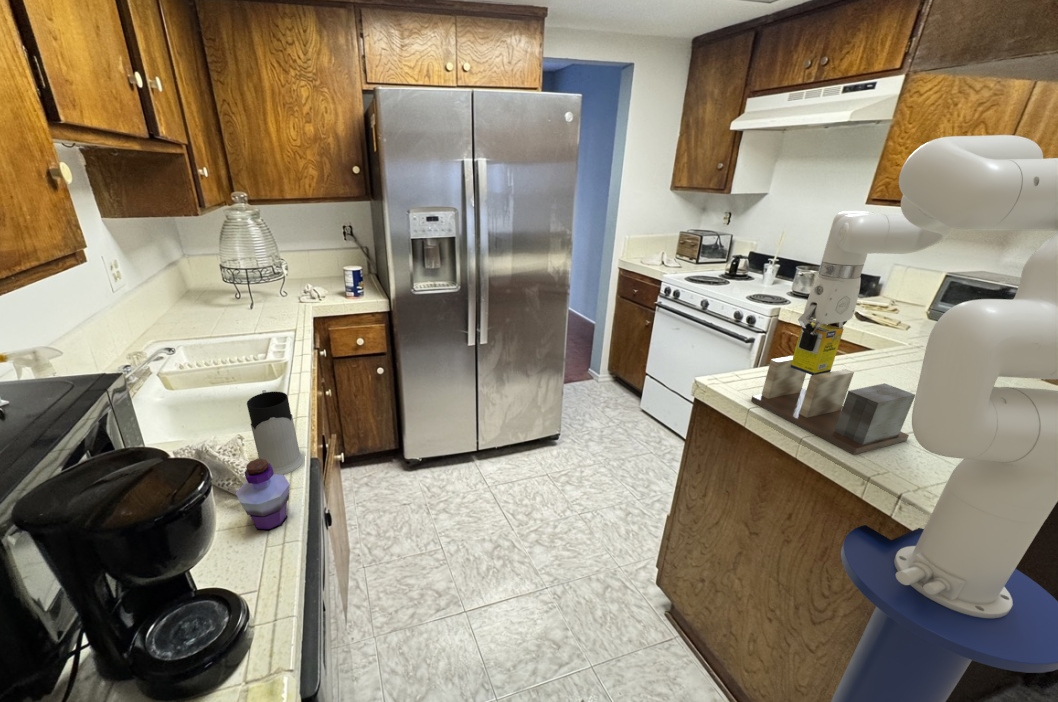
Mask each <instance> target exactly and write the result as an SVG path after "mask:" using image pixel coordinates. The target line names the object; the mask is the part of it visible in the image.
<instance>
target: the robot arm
mask: <svg viewBox="0 0 1058 702" xmlns="http://www.w3.org/2000/svg"><path fill="white" fill-rule="evenodd" d="M898 188H899V190H900V192H901V194H902V196H901V199H900V210H901V213H875V212H871V211H863V210H862V211H861V210H847V211H846V210H844V211H841V212H838V213H837V214H836V215H835V216H834V218H833V220H832V222H831V227H830V230H829V234H828V237H827V241H826V245H825V248H824V251H823V255H822V259H821V262H820V265H819V268H818V272H817V277H816V278H815V281H814V283H813V285H812V287H811V290H810V291H809V295H808V298H807V300H806V303H805V307H804V311H803V313H802V314H801V315H800V316H799V317H798V319H797V321H798V323H799V325H800V329H801V328H802V332H803V334H802V337H801V340H800V344H799V348H802V349H805V350H807V351H813V350H814V346H815V343H816V340H817V336H818V335H816V333H817V331H818V330H819V328H820V326H821V325H822V324H827V325H831V326H835V327H838V328H842V329H844V325H846V324H847V322H848V321H850V320H852V318H853V316H854V314H855V310H856V307H857V303H858V300H859V294H860V289H861V280H862V279H861V275H862V272H863V269H864V266H865V263H866V261H867V256H868V255H869V254H884V255H885V254H888V255H889V254H893V255H906V254H913V253H918V252H920V251H923V250H926V249H928V248H931V247H934V246H935V245H937V244H939V243H942V242H943V241H944V240H946V239H947V238H948V237H949V236H950V235H951V234H952V232H953V231H954V229H957V230H961V231H969V232H971V231H972V232H983V231H984V232H985V231H986V232H989V231H990V232H992V231H993V232H1025V231H1026V232H1027V231H1028V232H1029V231H1031V232H1034V231H1037V232H1038V231H1039V232H1040V231H1042V232H1044V231H1045V232H1056V233H1055V234H1054V235H1052V236H1051V237H1050V238H1049V237H1048V239H1046V240H1045V241H1044V242H1043V243H1042V244H1041V245H1040V246H1039V247H1037V249H1036V250H1035V251H1034V252H1033V253H1032V254H1031V255H1030V256H1029V258H1028V259H1027V261H1026V262H1025V264H1024V266H1023V268H1022V271H1021V276H1020V280H1019V283H1018V287H1017V289H1016V292H1015V296H1014V297H1013V298H1012V299H1008V298H1007V299H1003V298H981V299H980V298H979V299H972V300H971V299H970V300H968V301H967V300H966V301H963V302H961V303H958V304H956V305H954V306H952V307H951V308H949V309H948V310H946V311H945V312H944V313H943V314H942V315H941V316H940V317H939V319H938V320H937V321H936V322H935V324H934V325H933V327H932V329H931V331H930V334H929V336H928V338H927V339H928V340H927V343H926V346H925V350H924V356H923V360H922V364H921V369H920V374H919V378H918V384H917V388H916V392H915V397H914V400H913V406H912V413H911V429H912V433H913V436H914V438H915V440H916V442H917V443H918V444H919V445H920V446H921V447H922V448H923V449H925V450H926V451H928V452H929V453H931V454H934V455H938V456H941V457H945V458H953V459H962V460H960V462H959V463H958V464H957V465H956V467H954V469H953V471H952V472H951V473H950V475H949V477H948V479H947V481H946V483H945V485H944V487H943V489H942V492H941V494H940V496H939V498H938V500H937V502H936V503H935V506H934V508H933V510H932V512H931V513H930V516H929V518H928V520H927V521H926V524H925V526H924V528H923V529H924V530H923V532H922V535H921V537H920V539H919V541H918V543H917V545H916V546H909V547H904V548H902V549H900V550H899V551H898V552H897V554H896V556H895V559H894V563H895V567H896V569H897V571H898V572H896V574H895V575H896V578H897V580H898V581H899V582H900V583H901V584H904V585H911V586H912V587H913V588H914V589H916V590H917V591H918V592H920V593H921V594H923V595H924V596H926V597H927V598H929V599H931V600H933V601H935V602H936V603H938V604H940V605H943V606H945V607H947V608H949V609H952V610H954V611H957V612H960V613H963V614H967V615H970V616H975V617H981V618H1000V617H1003V616H1005V615H1007V613H1008V612H1009V611H1010V609H1011V608H1012V605H1013V601H1012V598H1011V595H1010V593H1009V592H1008V591H1007V589H1006V588H1005V587H1004V586H1005V584H1006V583H1007V581H1008V580H1009V578H1010V576H1011V575H1012V573H1013V571H1014V570H1015V569H1017V567H1018V565H1019V563H1020V562H1021V560H1022V559H1023V557H1024V555H1025V554H1026V552H1027V550H1028V549H1029V547H1030V546H1031V544H1032V542H1033V541H1034V539H1035V537H1036V536H1037V535H1038V533H1039V531H1040V529H1041V527H1042V526H1043V525H1044V523H1045V522H1046V520H1047V519H1048V517H1049V516H1050V514H1051V512H1052V511H1053V509H1054V508H1055V506H1056V504H1057V503H1058V390H1055V389H1047V388H1046V389H1045V388H1030V387H1029V388H1028V387H1013V386H995V384H996V382H997V381H998V378H1016V379H1033V380H1034V379H1035V380H1058V157H1049V158H1044V153H1043V150H1042V148H1041V147H1040V145H1039V144H1038V143H1036V142H1035V141H1034V140H1032V139H1030V138H1027V137H1025V136H1020V135H1013V134H1012V135H1011V134H994V135H993V134H992V135H991V134H990V135H955V136H954V135H953V136H952V135H951V136H943V137H938V138H935V139H932V140H930V141H927V142H926V143H924V144H922V145H920V146H919V147H918V148H917V149H915V150H914V151H913V152H912V153H911V154H910V155H909V156H908V157H907V159H906V160H905V162H904V163H903V165H902V167H901V169H900V173H899V177H898ZM811 323H815V326H814V327H812V325H811Z"/></svg>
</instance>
